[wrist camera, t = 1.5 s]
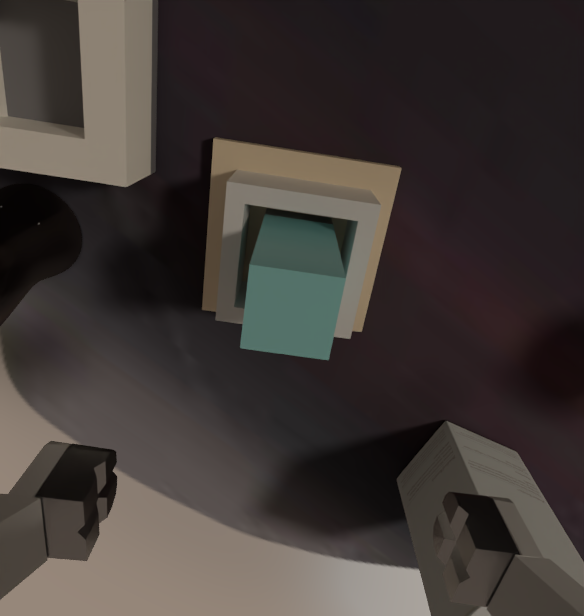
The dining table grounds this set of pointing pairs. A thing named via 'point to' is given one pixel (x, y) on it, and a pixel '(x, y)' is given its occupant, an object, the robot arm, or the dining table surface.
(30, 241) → the beer glass
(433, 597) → the supplement box
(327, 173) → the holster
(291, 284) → the plug
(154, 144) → the port block
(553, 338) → the dining table surface
